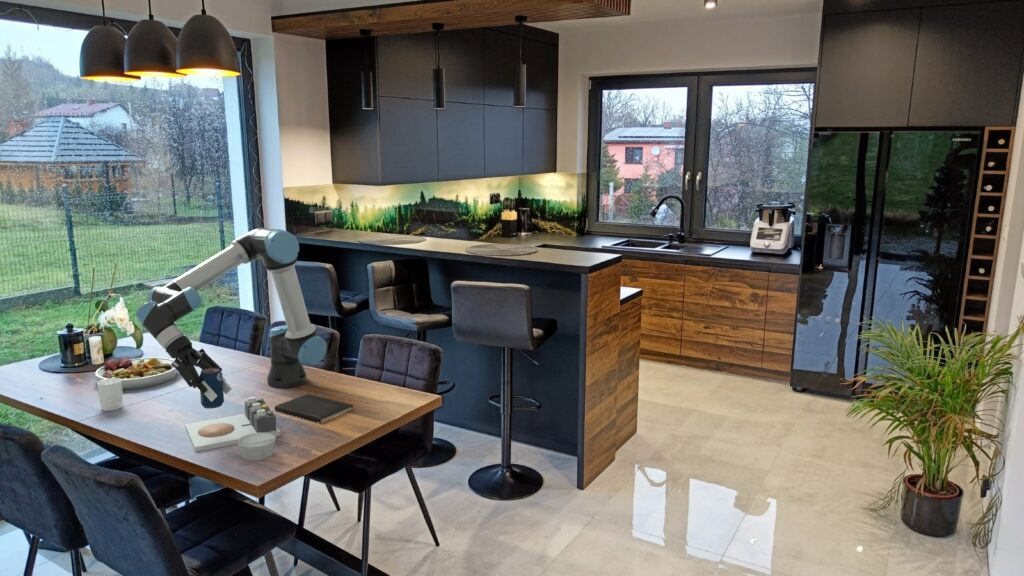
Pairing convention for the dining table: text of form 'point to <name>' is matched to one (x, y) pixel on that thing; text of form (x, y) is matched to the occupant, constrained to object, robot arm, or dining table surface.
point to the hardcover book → (313, 408)
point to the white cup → (110, 393)
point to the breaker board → (233, 426)
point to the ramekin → (256, 446)
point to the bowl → (138, 371)
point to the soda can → (212, 387)
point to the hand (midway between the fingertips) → (221, 394)
